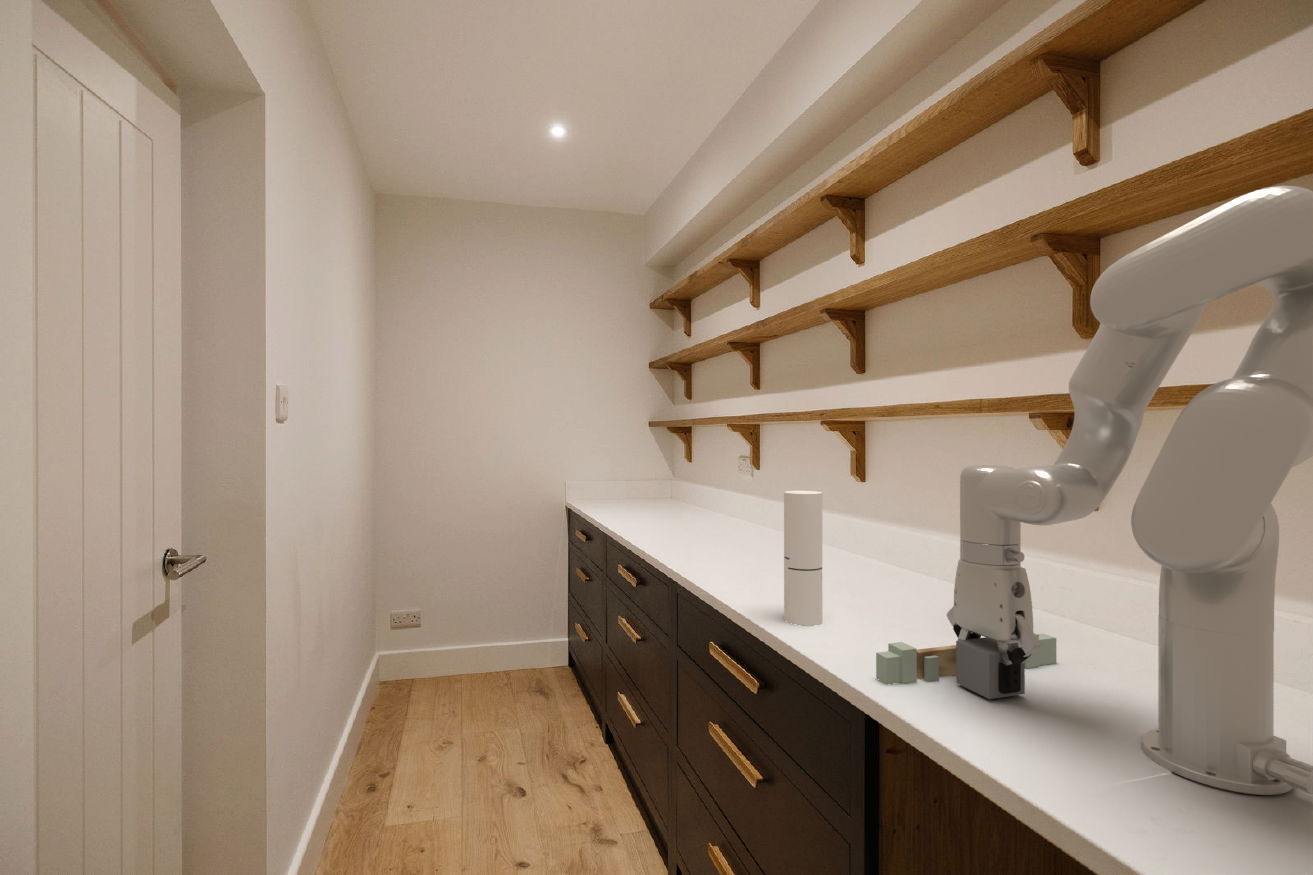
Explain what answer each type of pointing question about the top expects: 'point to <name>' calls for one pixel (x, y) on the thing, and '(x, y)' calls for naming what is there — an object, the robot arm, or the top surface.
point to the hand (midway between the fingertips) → (989, 681)
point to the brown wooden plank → (945, 660)
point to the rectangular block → (982, 667)
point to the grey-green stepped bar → (903, 661)
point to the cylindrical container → (803, 557)
